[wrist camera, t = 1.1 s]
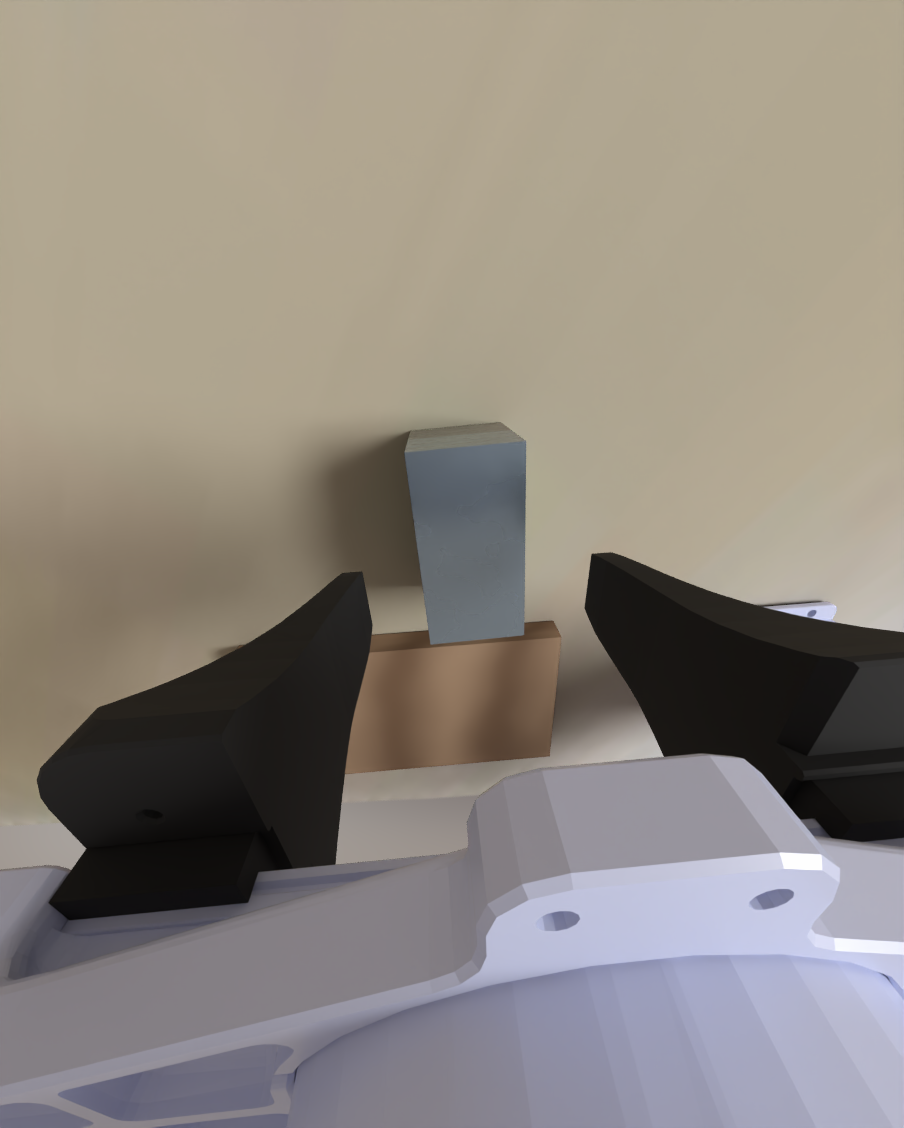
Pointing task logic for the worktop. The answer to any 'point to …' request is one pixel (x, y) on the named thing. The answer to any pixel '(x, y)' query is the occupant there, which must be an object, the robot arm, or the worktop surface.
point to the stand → (455, 700)
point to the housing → (469, 529)
